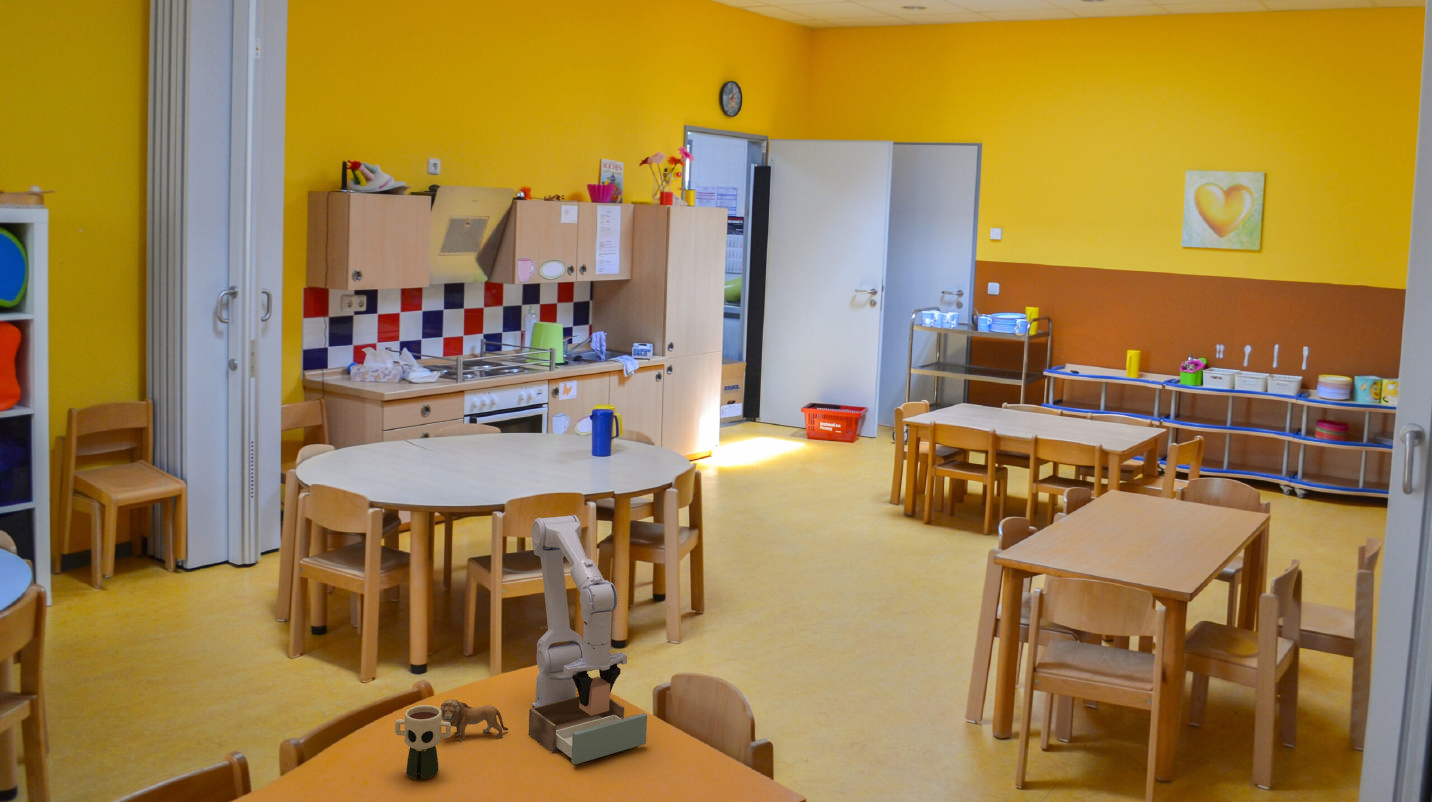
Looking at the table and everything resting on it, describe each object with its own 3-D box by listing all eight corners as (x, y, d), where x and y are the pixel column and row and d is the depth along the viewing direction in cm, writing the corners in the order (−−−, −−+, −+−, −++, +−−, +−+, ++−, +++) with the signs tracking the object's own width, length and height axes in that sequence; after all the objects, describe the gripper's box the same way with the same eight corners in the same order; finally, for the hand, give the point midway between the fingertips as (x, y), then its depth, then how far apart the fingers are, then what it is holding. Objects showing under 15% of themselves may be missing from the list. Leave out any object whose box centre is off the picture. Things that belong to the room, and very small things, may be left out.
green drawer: (547, 744, 247) (548, 715, 246) (617, 724, 258) (619, 697, 256) (574, 764, 238) (575, 734, 237) (645, 743, 249) (647, 715, 248)
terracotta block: (579, 707, 248) (580, 680, 247) (597, 702, 251) (598, 676, 250) (590, 715, 245) (592, 688, 244) (609, 710, 248) (610, 683, 247)
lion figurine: (442, 746, 245) (442, 706, 244) (436, 735, 250) (437, 695, 249) (511, 736, 251) (512, 697, 250) (504, 726, 256) (506, 687, 255)
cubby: (528, 734, 253) (529, 708, 252) (597, 716, 264) (598, 690, 263) (552, 753, 245) (553, 725, 244) (623, 733, 256) (624, 707, 255)
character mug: (389, 781, 230) (390, 718, 228) (399, 763, 237) (400, 703, 235) (445, 784, 230) (447, 721, 228) (453, 766, 237) (455, 705, 235)
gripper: (577, 653, 238) (574, 716, 240) (636, 639, 247) (633, 700, 249) (559, 642, 243) (556, 704, 246) (617, 629, 252) (614, 689, 255)
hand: (594, 701), depth 248 cm, fingers closed on terracotta block, 4 cm apart
